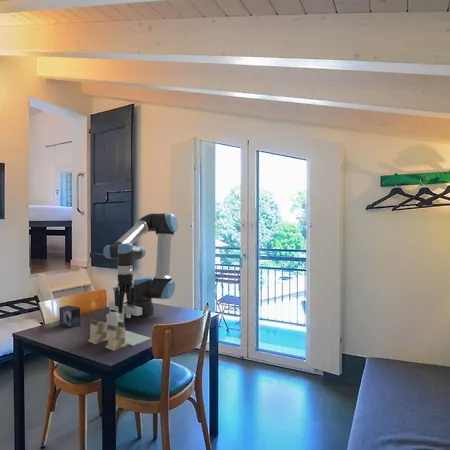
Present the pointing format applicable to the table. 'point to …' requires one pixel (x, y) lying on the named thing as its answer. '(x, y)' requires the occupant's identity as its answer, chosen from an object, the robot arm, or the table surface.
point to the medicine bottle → (113, 318)
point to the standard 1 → (98, 330)
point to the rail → (127, 309)
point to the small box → (70, 316)
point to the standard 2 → (116, 336)
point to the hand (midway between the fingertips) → (124, 318)
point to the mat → (134, 338)
